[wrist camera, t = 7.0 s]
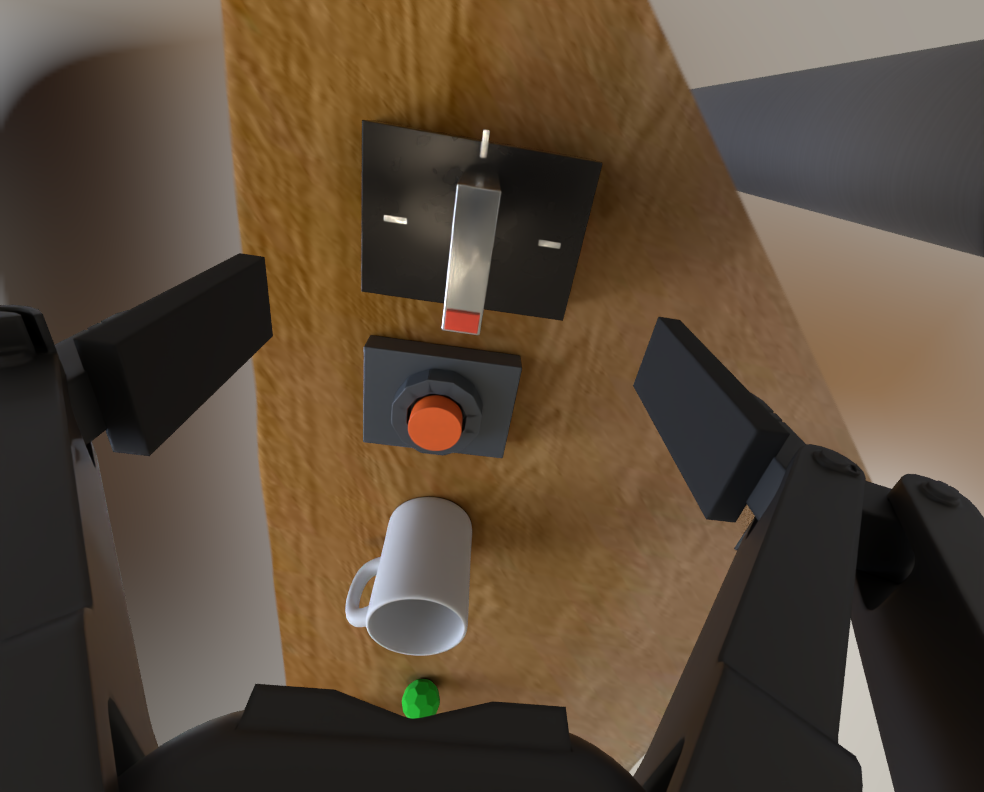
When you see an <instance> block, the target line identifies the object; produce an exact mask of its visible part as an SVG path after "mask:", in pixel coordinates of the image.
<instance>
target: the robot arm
mask: <svg viewBox="0 0 984 792" xmlns="http://www.w3.org/2000/svg"><path fill="white" fill-rule="evenodd" d="M272 336H273V333H272V323H271V314H270V304H269V295H268V285H267V276H266V266H265V257H261V256H254V255H248V254H241V253H239V254H237V255H235V256H233V257H231V258H230V259H228V260H226V261H224V262H222V263H220V264H218V265H216V266H214V267H212V268H210V269H208V270H206V271H204V272H202V273H200V274H199V275H196V276H195V277H193V278H191V279H189V280H187V281H185V282H183V283H181V284H179V285H177V286H175V287H173V288H171V289H169V290H167V291H165V292H163V293H161V294H160V295H158V296H156V297H154V298H152V299H150V300H148V301H146V302H144V303H142V304H140V305H138V306H136V307H134V308H132V309H131V310H127V311H123V312H120V313H117V314H115V315H113V316H111V317H109V318H107V319H105V320H103V321H101V323H97V324H95V325H93V326H91V327H89V328H88V330H83V331H81V332H79V333H77V334H75V335H73V336H71V337H69V338H67V339H65V340H63V341H61V342H59V343H57V344H55V345H54V342H53V340H52V337H51V335H50V332H49V330H48V327H47V324H46V322H45V319H44V317H43V314H42V313H41V312H40V310H39V309H35V308H32V307H29V306H19V305H0V792H862V787H863V784H862V771H861V766H860V764H859V762H858V760H857V758H856V756H855V755H853V754H852V753H850V752H849V751H848V750H846V749H845V748H843V747H842V746H841V745H839V744H838V732H839V723H840V714H841V705H842V695H843V686H844V676H845V667H846V657H847V648H848V639H849V629H850V620H851V621H852V625H853V629H854V633H855V637H856V641H857V645H858V649H859V653H860V657H861V661H862V665H863V669H864V673H865V676H866V680H867V684H868V688H869V692H870V696H871V700H872V704H873V708H874V712H875V716H876V720H877V724H878V728H879V731H880V736H881V740H882V743H883V747H884V751H885V755H886V759H887V763H888V767H889V771H890V775H891V779H892V783H893V787H894V791H895V792H984V517H983V516H982V515H981V513H980V512H979V510H978V509H977V508H976V507H975V506H974V505H973V504H972V503H971V502H970V500H968V499H967V498H966V497H964V496H963V495H961V494H960V493H959V491H958V490H956V489H955V488H953V487H951V486H948V484H946V483H943V482H941V481H935V480H933V479H930V478H928V477H924V476H920V475H916V474H906V475H904V476H903V477H901V479H900V480H899V481H898V482H897V483H896V485H895V486H894V487H893V488H892V489H890V488H887V487H884V486H881V485H877V484H874V483H871V482H868V481H865V479H866V478H865V475H864V472H863V471H862V470H861V469H860V468H859V467H858V466H857V464H855V463H854V462H852V461H851V460H849V459H848V458H847V457H845V456H843V455H841V454H839V453H838V452H835V451H833V450H830V449H827V448H825V447H822V446H817V445H812V444H809V445H806V444H805V443H804V442H803V441H802V440H801V439H800V438H799V437H798V436H797V435H796V434H795V433H794V432H793V430H792V429H791V428H790V427H789V426H788V425H787V424H786V423H785V422H782V419H781V418H780V417H779V416H778V415H777V414H775V413H773V412H774V411H773V410H772V409H771V408H770V407H769V406H768V405H767V404H766V403H765V402H764V401H763V400H761V399H760V398H758V397H757V396H755V395H753V394H752V393H750V392H749V391H748V390H747V389H746V388H745V387H744V386H743V385H742V384H741V383H740V382H739V381H738V380H737V379H736V377H735V376H734V375H733V374H732V373H731V372H730V371H729V370H728V369H727V368H726V367H725V366H724V365H723V364H722V363H721V362H720V361H719V360H718V359H717V358H716V357H715V356H714V355H713V354H712V353H711V352H710V351H709V350H708V349H707V348H706V347H705V345H704V344H703V343H702V342H701V341H700V340H699V339H698V338H697V337H696V336H695V335H694V334H693V333H692V332H691V331H690V330H689V329H688V328H687V327H686V326H685V325H684V324H683V323H682V322H681V321H680V320H677V319H670V318H663V317H658V320H657V322H656V325H655V328H654V330H653V333H652V336H651V339H650V341H649V344H648V347H647V349H646V352H645V355H644V358H643V360H642V363H641V366H640V368H639V371H638V374H637V377H636V379H635V382H634V385H633V386H634V388H635V390H636V392H637V394H638V395H639V397H640V399H641V401H642V403H643V405H644V406H645V408H646V410H647V412H648V414H649V416H650V417H651V419H652V421H653V423H654V425H655V427H656V428H657V430H658V432H659V434H660V436H661V437H662V439H663V441H664V443H665V445H666V447H667V448H668V450H669V452H670V454H671V456H672V458H673V459H674V461H675V463H676V465H677V467H678V469H679V470H680V472H681V474H682V476H683V478H684V480H685V481H686V483H687V485H688V487H689V489H690V491H691V492H692V494H693V496H694V498H695V500H696V502H697V503H698V505H699V507H700V509H701V511H702V513H703V514H704V516H705V518H706V519H708V520H717V521H726V522H736V521H737V519H738V517H739V516H740V514H741V513H742V511H743V509H744V508H745V506H746V504H747V505H748V506H749V508H750V509H751V511H752V512H753V514H754V515H755V517H754V519H753V520H752V522H751V523H750V525H749V526H748V528H747V530H746V531H745V533H744V534H743V536H742V537H741V539H740V540H739V542H738V543H737V545H736V547H735V548H734V549H735V550H737V553H736V555H735V557H734V559H733V562H732V564H731V566H730V568H729V570H728V573H727V575H726V577H725V579H724V582H723V584H722V586H721V588H720V591H719V593H718V595H717V597H716V599H715V602H714V604H713V606H712V608H711V611H710V613H709V615H708V617H707V620H706V622H705V624H704V626H703V628H702V631H701V633H700V635H699V637H698V640H697V642H696V644H695V646H694V649H693V651H692V653H691V655H690V657H689V660H688V662H687V664H686V666H685V669H684V671H683V673H682V675H681V678H680V680H679V682H678V684H677V686H676V689H675V691H674V693H673V695H672V698H671V700H670V702H669V704H668V707H667V709H666V711H665V713H664V715H663V718H662V720H661V722H660V724H659V727H658V729H657V731H656V733H655V735H654V738H653V740H652V742H651V744H650V747H649V749H648V751H647V753H646V755H645V757H644V759H643V760H642V763H641V764H640V766H639V768H638V769H637V771H636V773H635V774H634V776H632V775H631V774H630V773H629V772H628V771H627V770H625V769H624V768H623V767H622V766H621V765H620V764H619V763H618V762H616V761H615V760H614V759H613V758H612V757H610V756H609V755H608V754H606V753H605V752H603V751H602V750H600V749H599V748H598V747H596V746H595V745H593V744H591V743H589V742H587V741H586V740H584V739H582V738H580V737H578V736H576V735H573V734H571V733H569V730H568V722H567V714H566V707H559V706H546V705H532V704H519V703H506V702H489V703H484V704H480V705H475V706H471V707H466V708H462V709H457V710H453V711H449V712H444V713H440V714H435V715H431V716H426V717H422V718H407V717H403V716H401V715H398V714H396V713H393V712H391V711H388V710H385V709H383V708H380V707H378V706H375V705H373V704H370V703H367V702H365V701H362V700H360V699H357V698H355V697H352V696H350V695H347V694H344V693H342V692H339V691H337V690H332V689H318V688H305V687H292V686H278V685H265V684H255V686H254V689H253V691H252V693H251V696H250V698H249V700H248V703H247V705H246V707H245V710H243V711H237V712H233V713H230V714H227V715H224V716H221V717H218V718H215V719H212V720H209V721H207V722H205V723H203V724H201V725H198V726H196V727H194V728H192V729H189V730H187V731H186V732H184V733H182V734H180V735H178V736H177V737H175V738H173V739H171V740H170V741H168V742H166V743H164V744H163V745H161V746H160V747H158V744H157V741H156V739H155V735H154V733H153V729H152V725H151V722H150V718H149V714H148V709H147V704H146V699H145V695H144V689H143V684H142V679H141V674H140V669H139V664H138V659H137V654H136V649H135V644H134V639H133V634H132V629H131V624H130V619H129V614H128V610H127V604H126V599H125V594H124V589H123V585H122V579H121V574H120V569H119V564H118V559H117V554H116V550H115V544H114V539H113V534H112V529H111V524H110V520H109V514H108V509H107V504H106V499H105V494H104V489H103V484H102V479H101V474H100V470H99V464H98V459H97V454H96V452H95V449H94V447H93V444H92V440H94V439H95V438H96V437H97V436H99V435H100V434H101V433H102V432H104V431H105V430H106V433H107V436H108V438H109V441H110V444H111V447H112V450H113V452H118V453H127V454H136V455H144V456H150V455H151V454H152V453H153V452H154V451H155V450H156V449H157V448H158V447H159V446H160V445H161V444H162V443H163V442H164V441H165V440H166V439H168V437H170V436H171V435H172V434H173V433H174V432H175V431H176V430H177V429H178V428H179V427H180V426H181V425H182V424H183V423H184V422H185V421H186V420H187V419H188V418H189V417H190V416H191V415H192V414H193V413H194V412H195V411H196V410H197V409H198V408H199V407H200V406H201V405H202V404H204V402H206V401H207V399H208V398H210V397H211V396H212V395H213V394H214V393H215V392H216V391H217V390H218V389H219V388H220V387H221V386H222V385H223V384H224V383H225V382H226V381H227V380H228V379H229V378H230V377H231V376H232V375H233V374H234V373H235V372H236V371H237V370H238V369H239V368H241V367H242V366H243V365H244V364H245V363H246V362H247V361H248V360H249V359H250V358H251V357H252V356H253V355H254V354H255V353H256V352H257V351H258V350H259V349H260V348H261V347H262V346H263V345H264V344H265V343H266V342H267V341H268V340H269V339H270V338H271V337H272Z"/></svg>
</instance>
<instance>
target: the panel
mask: <svg viewBox="0 0 984 792" xmlns="http://www.w3.org/2000/svg"><path fill="white" fill-rule="evenodd" d="M489 134H490V130H485V129H484V130H483V138H482V140H481V139H476V138H470V137H464V136H459V135H453V134H448V133H442V132H436V131H431V130H425V129H420V128H414V127H408V126H403V125H397V124H392V123H386V122H380V121H375V120H362V267H361V291H362V292H369V293H376V294H383V295H390V296H396V297H403V298H410V299H417V300H424V301H431V302H438V303H444V301H445V292H446V282H447V272H448V263H449V253H450V244H451V234H452V225H453V215H454V206H455V196H456V186H457V183H458V181H459V179H460V177H461V175H462V173H463V171H464V170H465V168H468V169H474V170H480V171H485V172H491V173H497V174H498V177H499V182H500V187H501V192H502V193H501V200H500V206H499V213H498V219H497V226H496V232H495V239H494V245H493V252H492V258H491V265H490V271H489V278H488V284H487V291H486V298H485V304H484V309H486V310H493V311H500V312H507V313H513V314H520V315H527V316H534V317H541V318H548V319H555V320H562V321H563V318H564V314H565V310H566V306H567V302H568V298H569V294H570V290H571V287H572V283H573V279H574V275H575V271H576V267H577V263H578V259H579V255H580V251H581V247H582V243H583V239H584V235H585V231H586V227H587V223H588V219H589V215H590V211H591V207H592V203H593V199H594V195H595V191H596V187H597V183H598V179H599V175H600V171H601V168H602V162H599V161H596V160H593V159H588V158H582V157H576V156H571V155H565V154H560V153H554V152H548V151H543V150H537V149H532V148H526V147H520V146H515V145H509V144H504V143H498V142H492V141H489Z"/></svg>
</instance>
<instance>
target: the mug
mask: <svg viewBox="0 0 984 792" xmlns="http://www.w3.org/2000/svg"><path fill="white" fill-rule="evenodd" d="M471 541H472V525H471V521H470V519H469V517H468V515H467V514H466V512H465V511H464V510H463V509H462V508H460V507H459V506H458V505H456V504H455V503H453V502H451V501H448V500H445V499H442V498H436V497H420V498H415V499H412V500H409V501H407V502H405V503H403V504H402V505H400V506H399V507H398V508H397V509H396V510H395V511H394V512H393V514H392V516H391V518H390V521H389V524H388V528H387V533H386V538H385V542H384V546H383V551H382V555H381V557H378V558H376V559H373V560H371V561H369V562H367V563H366V564H364V565H363V566H362V567H361V568H360V569H359V571H358V572H357V574H356V576H355V577H354V579H353V582H352V584H351V586H350V589H349V592H348V596H347V601H346V617H347V619H348V621H349V623H350V624H352V625H353V626H356V627H365V626H366V628H367V631H368V633H369V634H370V636H371V637H372V638H373V639H374V640H375V641H376V642H377V643H378V644H380V645H381V646H383V647H385V648H387V649H389V650H392V651H394V652H398V653H402V654H407V655H432V654H438V653H441V652H444V651H447V650H449V649H451V648H453V647H455V646H456V645H457V644H459V643H460V642H461V641H462V639H463V638H464V636H465V634H466V631H467V625H468V606H469V581H470V557H471ZM375 575H376V579H375V583H374V587H373V591H372V595H371V599H370V603H369V606H367V607H365V608H361V609H359V602H360V597H361V594H362V591H363V589H364V587H365V585H366V583H367V582H368V581H369V580H370V579H371V578H372V577H373V576H375Z"/></svg>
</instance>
